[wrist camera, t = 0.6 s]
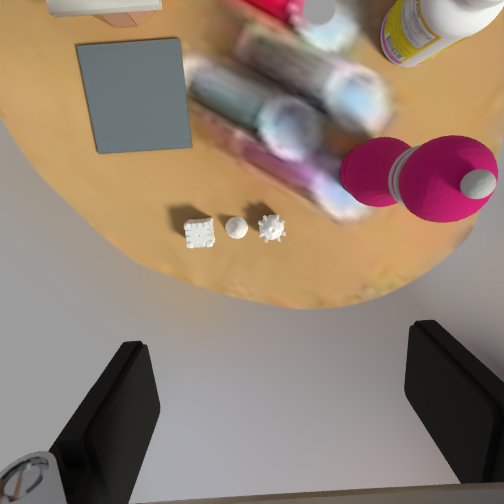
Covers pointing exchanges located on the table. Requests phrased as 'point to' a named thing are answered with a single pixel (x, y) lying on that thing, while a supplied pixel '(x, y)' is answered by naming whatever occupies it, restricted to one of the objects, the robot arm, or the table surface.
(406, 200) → the pepper mill
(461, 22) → the supplement bottle
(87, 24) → the table surface
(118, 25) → the bowl
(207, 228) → the game pieces
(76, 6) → the lid
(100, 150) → the mat
